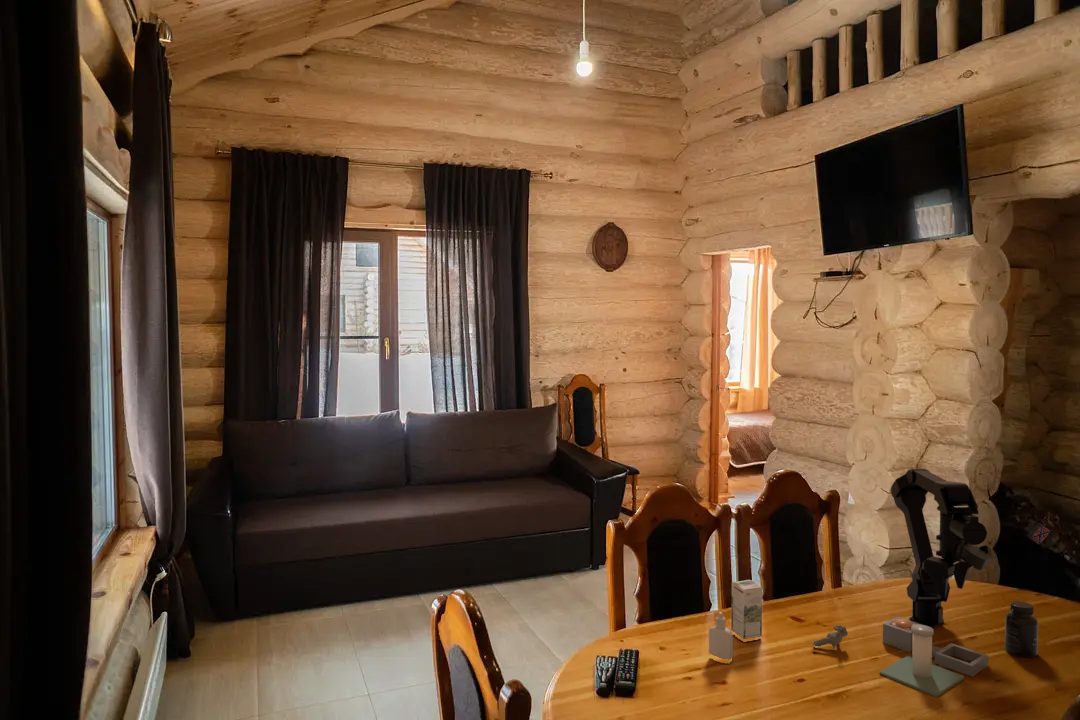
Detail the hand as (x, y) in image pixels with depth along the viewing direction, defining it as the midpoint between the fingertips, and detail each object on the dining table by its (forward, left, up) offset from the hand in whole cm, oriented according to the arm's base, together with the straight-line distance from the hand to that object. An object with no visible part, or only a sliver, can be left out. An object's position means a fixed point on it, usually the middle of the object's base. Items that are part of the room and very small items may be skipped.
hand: (951, 592), depth 185 cm
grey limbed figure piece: (-16, -27, -13) cm, 34 cm away
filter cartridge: (+4, -23, -12) cm, 26 cm away
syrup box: (-34, -38, -13) cm, 53 cm away
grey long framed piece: (0, -10, -13) cm, 16 cm away
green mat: (+4, -23, -13) cm, 27 cm away
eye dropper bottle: (-30, -53, -13) cm, 62 cm away
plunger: (-7, -10, -13) cm, 18 cm away
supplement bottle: (+13, +8, -13) cm, 20 cm away
